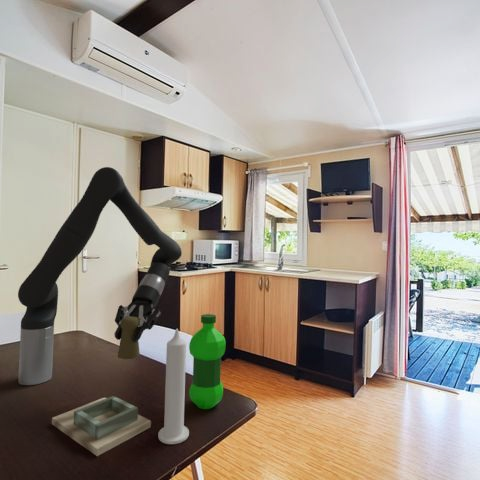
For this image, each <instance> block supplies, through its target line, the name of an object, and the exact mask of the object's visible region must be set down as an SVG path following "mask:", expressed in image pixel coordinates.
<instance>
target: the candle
mask: <svg viewBox="0 0 480 480" xmlns="http://www.w3.org/2000/svg"><path fill="white" fill-rule="evenodd" d="M165 359H166V360H165V361H166V362H165V390H164V418H163V419H164V420H163V421H164V423H163V424H164V425H163V426H164V427H162V428H161V429H160V430H159V431H158V434H157V435H158V440H159V441H160V442H161V443H162V444H166V445H177V444H181V443H183V442H185V441H186V440H187V439H188V437H189V436H190V435H189V434H190V430H189V428H188V427H187V426H185V425H184V424H185V397H186V396H185V393H186V392H185V391H186V390H185V389H186V359H187V342H186V341H185V340H184V339H182V338H181V335H180V332H179V329H178V328H176V329H175V332H174V336H173V337H172V338H171V339H170V340H168V341H167V343H166V358H165Z"/></svg>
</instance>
